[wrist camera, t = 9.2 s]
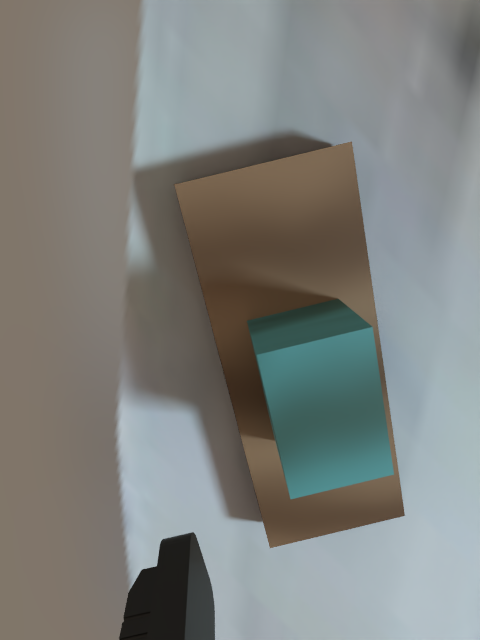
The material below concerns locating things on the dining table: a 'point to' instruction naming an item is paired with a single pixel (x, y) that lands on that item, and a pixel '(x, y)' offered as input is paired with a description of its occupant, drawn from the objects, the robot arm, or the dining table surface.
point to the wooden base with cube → (298, 339)
